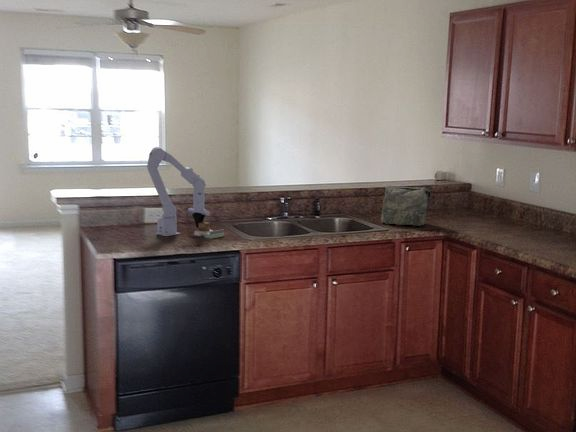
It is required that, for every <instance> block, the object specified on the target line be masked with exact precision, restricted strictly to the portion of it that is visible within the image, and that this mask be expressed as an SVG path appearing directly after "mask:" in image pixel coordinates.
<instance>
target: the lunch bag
mask: <svg viewBox="0 0 576 432" xmlns="http://www.w3.org/2000/svg"><path fill="white" fill-rule="evenodd" d="M383 189H384V198H383V203H382V208H381V220H380V222H381V223H382V224H383V223H385V224H384V225H389V224H396V225H395V226H401V225H413V226H412V227H415V226H419V227H422V225H423V226H424V225H426V219H427V207H428V198H431V191H430V189H428V188H426V187H413V186H412V187H411V186H409V187H408V186H393V185H387V186H386V187H383Z"/></svg>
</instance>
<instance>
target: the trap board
mask: <svg viewBox="0 0 576 432" xmlns="http://www.w3.org/2000/svg"><path fill="white" fill-rule="evenodd" d="M194 236H196V237H197V236H198V237H201V238H205V239H210V240H211V239H216V238H222V237H225V229H224V228H223V229H217V230H213V229H210V231H205V232H203V231H199V230H194Z"/></svg>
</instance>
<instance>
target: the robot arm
mask: <svg viewBox="0 0 576 432" xmlns="http://www.w3.org/2000/svg"><path fill="white" fill-rule="evenodd" d="M162 161H163V162H165V163H170V165H172V166H173V167H174V168H175V169H177V170H178V171H179V172H180V175H181V177H182V178H183V179H185V181H186V182H187V183H189V184H190V185H191V186H192V188H193V194H192V195H193V196H192V200H193V201H192V206H193V207H189V208H187V212H188V213H193V214H191V217H192V218H193V220H194V224H195V228H197V229H199V223H201V222H204V219H205V218H206V216H210V215H211V212H210V211H209V210H207V209H206V208H205V198H206V197H205V196H206V195H205V189H206V186H207V185H206V182H205V180H204V179H203V178H202V177H201V175H199V174H197V173H196V172H195V171H194V169H193V168H192V167H188V166H187V167H185V166H184V165H183V164H181V162H180V161H178V159H176V158H175V157H174V156H173V155H172V154H171V153H169V152H167V151H166V150H164V149H163V148H161V147H159V146H155V147H153V148H152V149H151V151H150V152H149V154H148V159H147V163H146V168H147V172H148V173H149V175H150V177H151V180H152V183H153V184H154V185H153V186H154V188H155V190H156V193H157V195H158V197H159V199H160V202H161V205H162V206H161V207H162V208H161V209H162V212H163V214H162V216H161V217H160V218H158V219H157V222H156V235H160V236H164V237H169V236H177V235H181V232H177V231H178V229H177V228H178V225H177V224H178V223H177V222H178V221H177V220H178V217H177V211H178V210H177V208H176V206H175V205H174V203H172V200H171V198H170V196H169V193H168V191H167V189H166V185H165V184H164V182H163V179H162V176H161V175H160V172H159V170H158V167H159V166H160V164H161V162H162Z"/></svg>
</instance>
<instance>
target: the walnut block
mask: <svg viewBox="0 0 576 432" xmlns="http://www.w3.org/2000/svg"><path fill="white" fill-rule="evenodd" d="M210 230H211V222H206V221H203V222H201V223H199V228H198V231H203V232H205V231H210Z"/></svg>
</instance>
